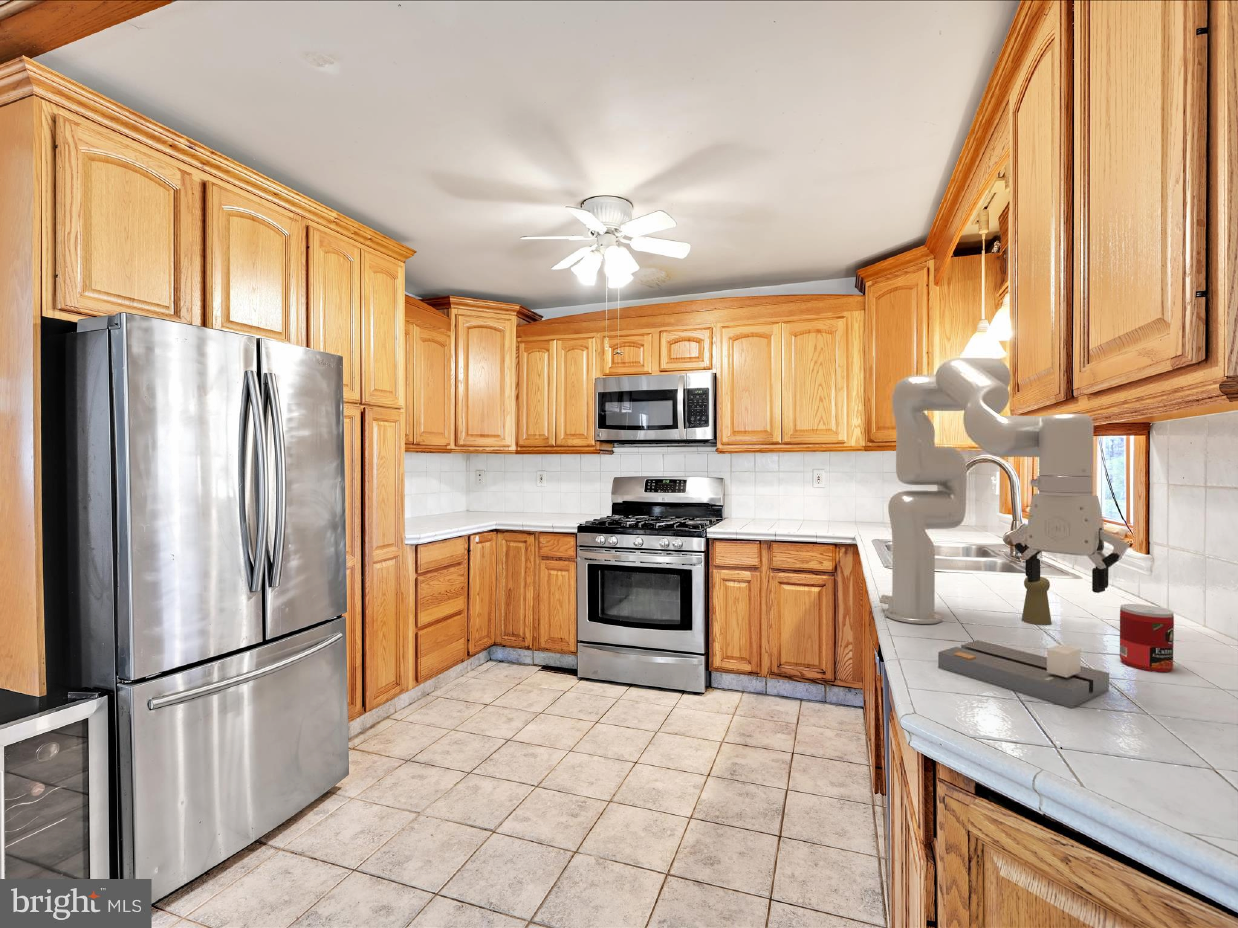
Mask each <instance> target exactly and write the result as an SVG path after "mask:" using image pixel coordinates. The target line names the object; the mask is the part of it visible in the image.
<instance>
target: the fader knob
mask: <svg viewBox="0 0 1238 928" xmlns="http://www.w3.org/2000/svg"><path fill="white" fill-rule="evenodd" d="M1046 649H1047V650H1046V657H1047V672H1048V673H1052V674H1055V675H1059V676H1063V677H1070V676H1072V675H1074V674H1077V673H1079V672H1080V666H1081V658H1082V655H1081V648H1078V647H1075V646H1070V645H1066V644H1062V643H1060V644H1058V645H1057V644H1056V645H1054V646H1051V647H1049V648H1048V647H1047V648H1046Z"/></svg>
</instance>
